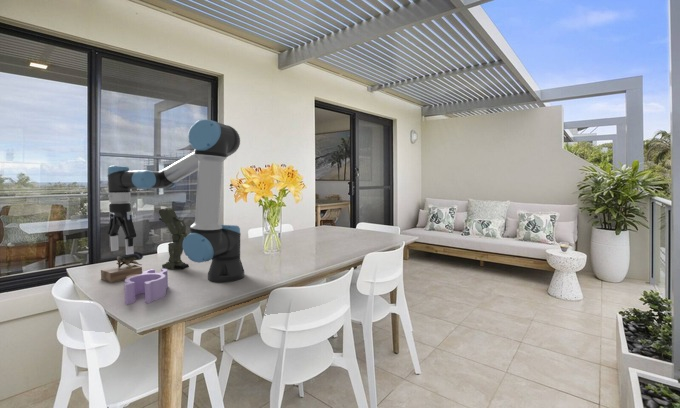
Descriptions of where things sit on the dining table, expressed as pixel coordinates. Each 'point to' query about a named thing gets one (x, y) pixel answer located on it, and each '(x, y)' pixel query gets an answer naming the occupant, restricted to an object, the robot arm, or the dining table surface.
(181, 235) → the mechanical leg
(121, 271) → the plinth
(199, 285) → the dining table surface
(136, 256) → the eagle figurine
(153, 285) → the clip
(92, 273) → the dining table surface
